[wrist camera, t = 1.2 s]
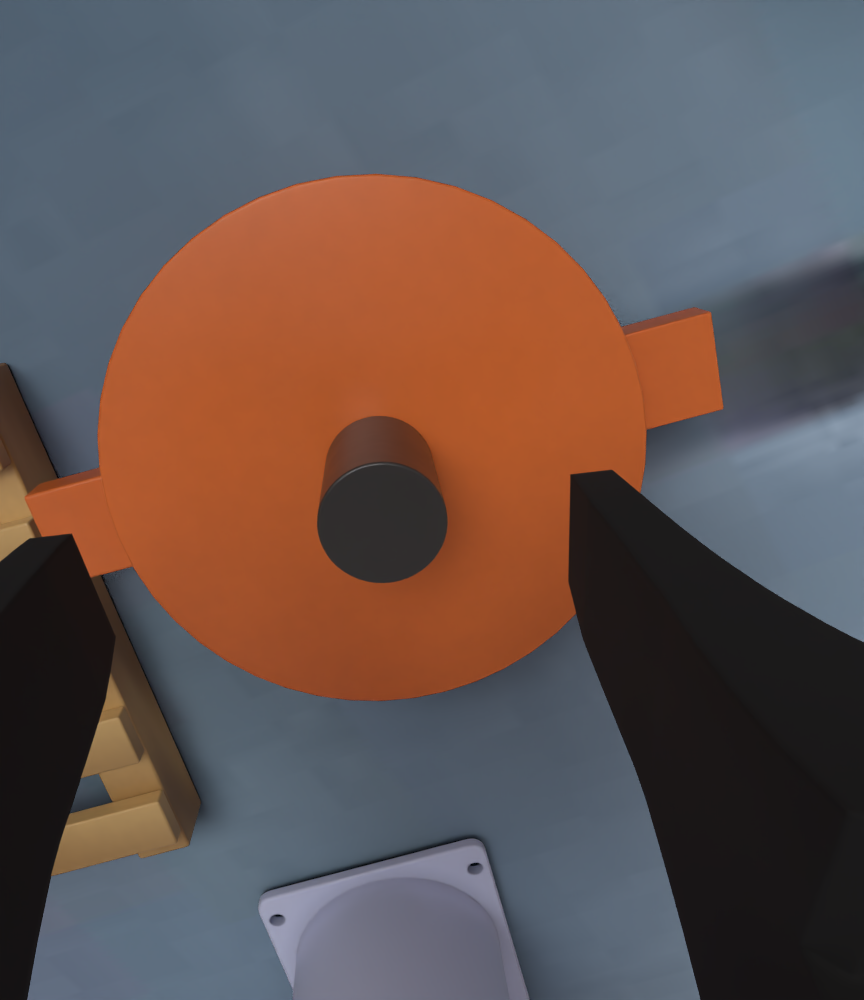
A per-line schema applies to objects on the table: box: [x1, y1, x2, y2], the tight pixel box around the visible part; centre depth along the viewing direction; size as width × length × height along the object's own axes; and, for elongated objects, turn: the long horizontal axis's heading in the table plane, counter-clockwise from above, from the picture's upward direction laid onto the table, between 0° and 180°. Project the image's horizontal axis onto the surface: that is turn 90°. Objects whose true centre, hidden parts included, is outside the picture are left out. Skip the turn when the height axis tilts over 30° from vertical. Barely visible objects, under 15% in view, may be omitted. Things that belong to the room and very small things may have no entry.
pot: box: [25, 307, 723, 578], centre depth 21 cm, size 11×17×4 cm
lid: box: [98, 174, 647, 701], centre depth 17 cm, size 12×12×5 cm
